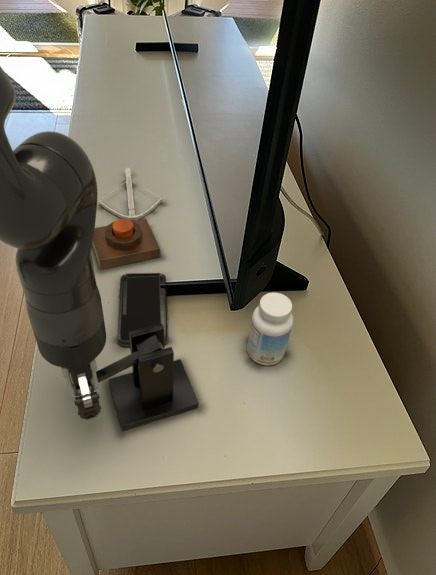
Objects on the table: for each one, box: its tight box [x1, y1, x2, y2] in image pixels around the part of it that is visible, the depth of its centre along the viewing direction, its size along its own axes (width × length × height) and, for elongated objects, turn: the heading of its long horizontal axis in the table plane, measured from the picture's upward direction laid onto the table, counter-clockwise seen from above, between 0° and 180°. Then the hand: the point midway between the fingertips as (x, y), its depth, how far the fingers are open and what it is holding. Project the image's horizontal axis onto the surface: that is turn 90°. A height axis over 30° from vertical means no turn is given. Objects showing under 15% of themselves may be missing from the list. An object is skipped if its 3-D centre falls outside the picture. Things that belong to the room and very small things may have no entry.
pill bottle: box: [246, 292, 294, 366], centre depth 74 cm, size 6×6×11 cm
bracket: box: [107, 323, 199, 432], centre depth 67 cm, size 11×8×13 cm
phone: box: [116, 272, 169, 348], centre depth 82 cm, size 8×1×15 cm
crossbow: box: [98, 167, 163, 221], centre depth 103 cm, size 16×13×2 cm
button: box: [113, 218, 134, 239], centre depth 89 cm, size 4×4×2 cm
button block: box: [92, 218, 161, 270], centre depth 91 cm, size 11×9×4 cm
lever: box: [96, 335, 165, 384], centre depth 63 cm, size 12×4×2 cm, turn 112°
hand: (86, 398), depth 66 cm, fingers closed on lever, 4 cm apart
